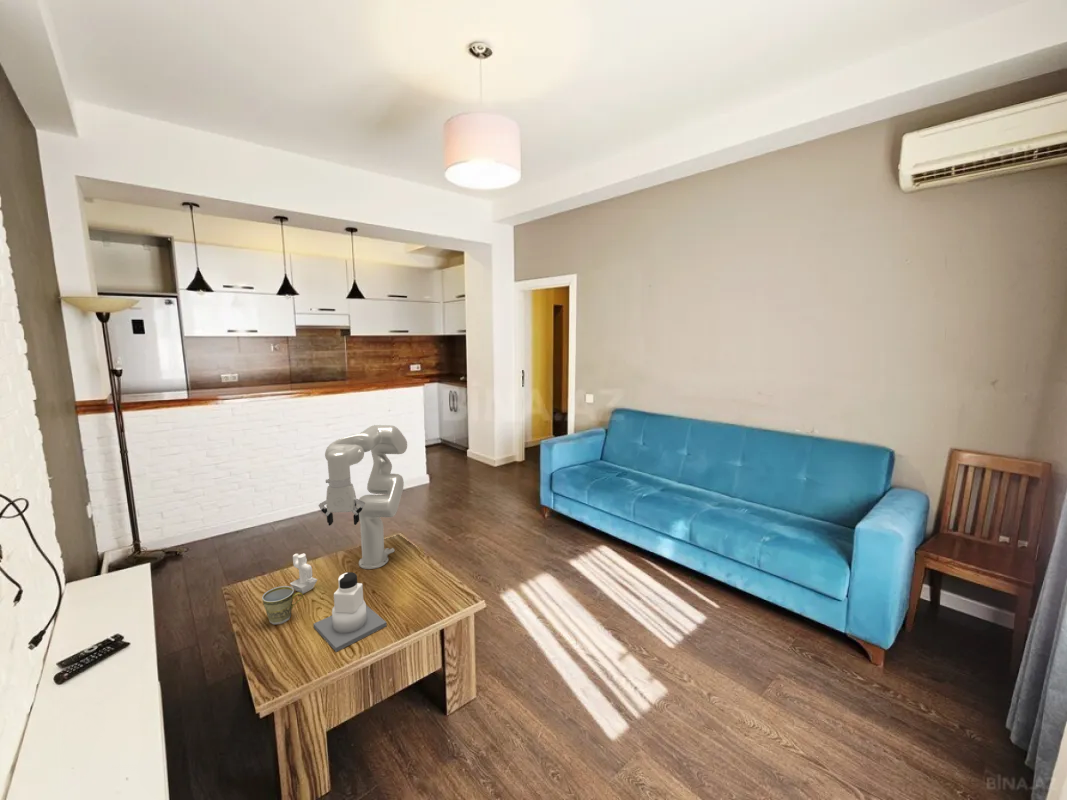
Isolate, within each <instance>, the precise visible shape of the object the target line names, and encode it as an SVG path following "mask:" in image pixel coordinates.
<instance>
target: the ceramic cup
mask: <svg viewBox="0 0 1067 800" xmlns="http://www.w3.org/2000/svg"><path fill="white" fill-rule="evenodd" d="M297 595H301V598H299V599H297V601H296V602H295V603H294V604H293V601H294V598H295V597H296V596H297ZM303 598H304V594H302V593H301V592H297V591H296V592H295V589H294V588H293V587H292V586H291V585H290V586H289V585H283V586H282V585H281V586H280V585H279V586H277V587H273V588H271V589H269V590H267V591H266V592H264V594H262V597H261V599H262V604H263V607H264V609H265V612H266V616H267V618H268V621H269V623H270V624H272V625H274V626H275V625H282V624H284V623H286V622H287V621H289V620H290V619H291V615H292V610H293V608H294V606H296V604H298V602H300V601H301V600H302V599H303Z"/></svg>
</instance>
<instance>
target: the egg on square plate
mask: <svg viewBox="0 0 1067 800" xmlns="http://www.w3.org/2000/svg"><path fill="white" fill-rule="evenodd" d="M386 627H387V621H386V620H384V619H383V618H382V617H381V616H380V615H379V614H378V613H376V612H375V611H374V610H373V609H372V608H370V607H369V606H368V605H367V604H366V601H365V600H364V599H363V603H362V604H361V605H360V606H359V608H358V609H357V610H356V612H355V613H340V612H335V606H333V607H332V609H331V615H329V616H328V617H325V618H323V619H321V620H318V621H316V622H313V628H314V631H316V632H317V633H318V634H319V636H321V638H323V639H324V641H326V643H327V644H328V645H329V646H330V648H331V649H333V650H334V652H335V653H337V652H339V651H342V650H343V649H345V648H347V647H349V646H350V645H353V644H354V643H357V642H359V641H360V640H363V639H365V638H366V637H368V636H370V635H372V634H374V633H376V632H378V631H380V630H381V629H384V628H386Z"/></svg>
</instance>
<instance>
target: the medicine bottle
mask: <svg viewBox="0 0 1067 800" xmlns="http://www.w3.org/2000/svg"><path fill="white" fill-rule="evenodd" d="M337 581H338V588H337V589H336V591H334V593H333V603H334V606H335V612H340V613H355V612H356V610H357V609H358V608H359V606H360V605H361V604H362V603H363V600H364V590H363V589H364V588H363V587H364V585H363V583H361V582H358V575H357V573H355V572H351V571H350V572H344V573H342V574H340V575H339V576H338V579H337ZM334 606H333V607H334Z"/></svg>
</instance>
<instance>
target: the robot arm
mask: <svg viewBox="0 0 1067 800" xmlns="http://www.w3.org/2000/svg"><path fill="white" fill-rule="evenodd" d="M407 449H408V441H407V439H406V437H405V436H404V434H403V433H402V431H401V430H400V429H399V428H398V427H397V426H395V425H386V424H385V425H381V424H376V425H375V424H374V425H371V426H369V427H367V428H366V429H364V430H363V431H361V432H360V433H358V434H353V435H349V436H346V437H340V438H338V439H336V440H335V441H333V442H331V443H330V444H329V445H328V446H327V447H326V449H325V452H324V457H325V459H326V461H327V470H328V472H327V473H328V478H327V479H325V483H326V484H328V486H327V487H326V500H324V501H321V502H320V503H319V504H318V508H319V509H320V510H321V513H323V514H324V516H326V522H327V523H328V525H327V526H332V525H333V523H334V514H333V513H353V525H355V526H356V525H357V524H358V523H360V540H361V541H360V542H361V557H362V558H360V559H359V560H358V566H359V568H362V569H364V570H372V569H378V568H381V567H383V566H385V565H386V564H388V562H389V555H391V554H392V553H394V552H395V548H394V547H393V548H389V547H386V548H385V539H384V537H385V536H384V535H385V534H384V522H383V520H382V518H393V517H395V515H397V512H398V510H399V506H400V503H401V498H402V494H403V491H404V485H405V484H404V477H403V476H402V475H401V474H399V473H391V472H392V469H393V465H392V462H391V460H390V458H388V456H387V455H402V454H404V453H406V451H407ZM367 452H371V456H372V461H373V462H372V463H373V465H372V467H371V468H372V469H371V472H370V474H369V475H370V476H369V478H368V482H367V487H366V489H367V492H369V493H370V494H364V495H362V496H361V497H359V498H357V496H356V491H355V488H354V484H353V483H352V480H351V478H352V477H351V468H350V467H351V466H353V465H356V464H358V463H360V462H362V461H363V459H364V456H365V453H367ZM325 506H326V507H325Z"/></svg>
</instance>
